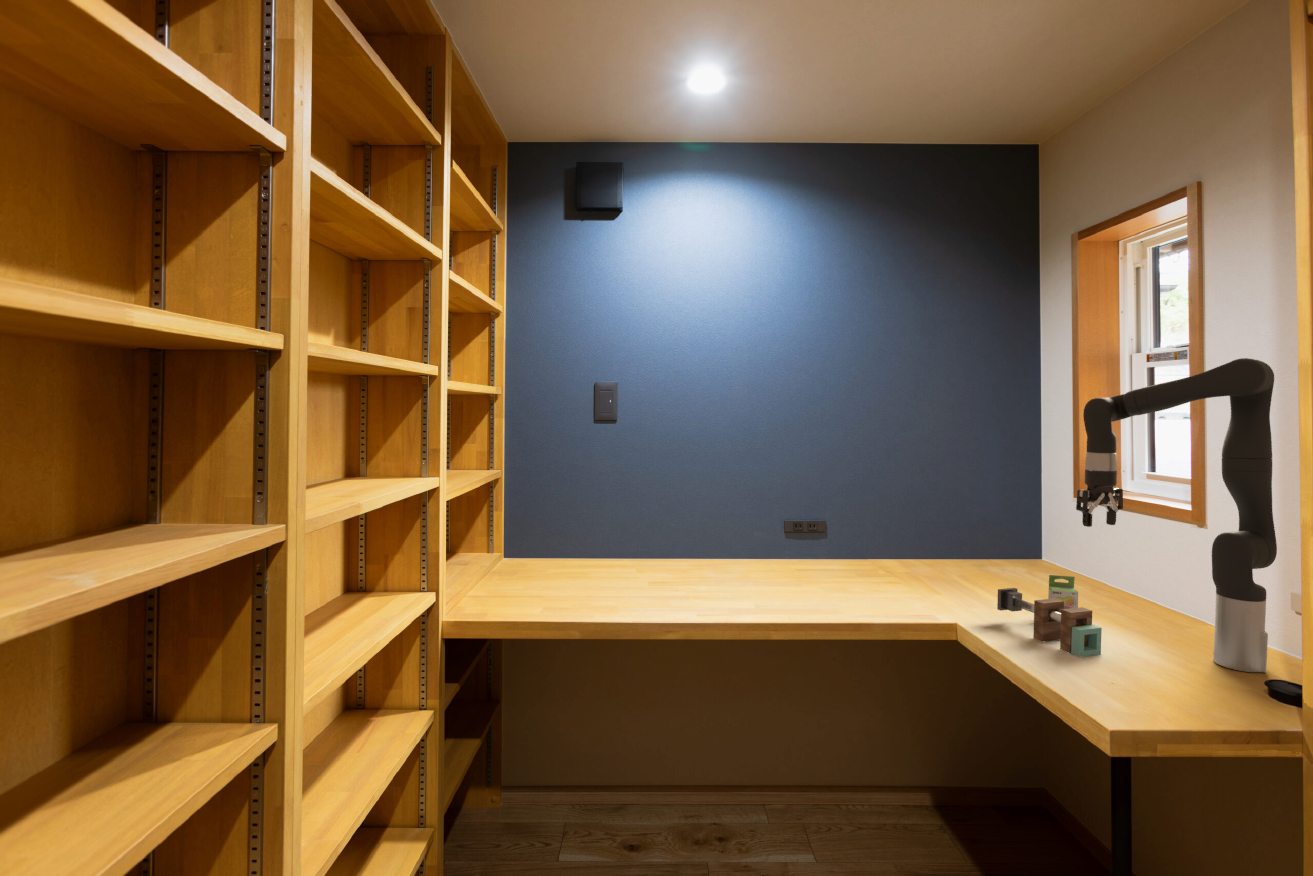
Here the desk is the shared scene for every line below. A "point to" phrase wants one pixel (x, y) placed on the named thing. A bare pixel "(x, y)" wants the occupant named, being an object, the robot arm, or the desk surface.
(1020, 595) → the shaft
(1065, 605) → the ink box
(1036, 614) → the bearing blocks
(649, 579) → the desk surface
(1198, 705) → the desk surface
